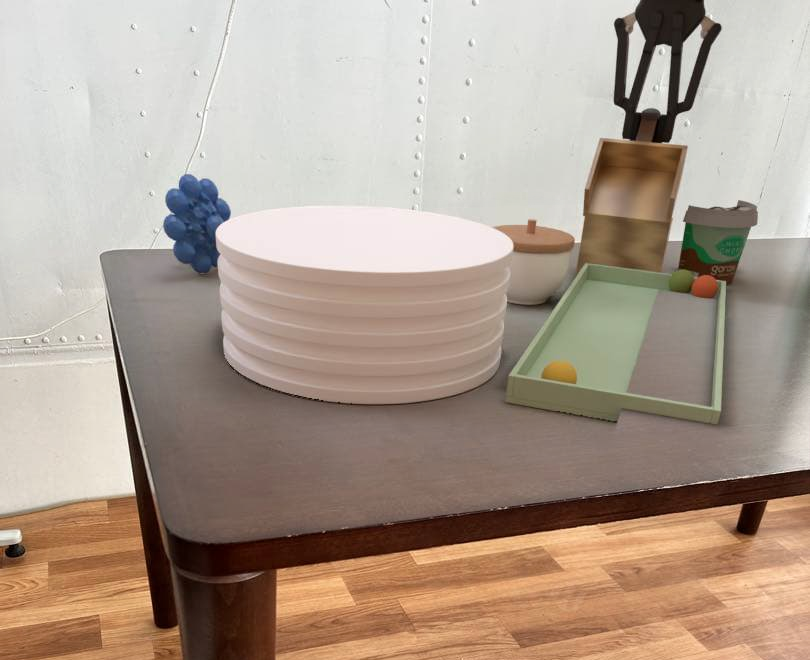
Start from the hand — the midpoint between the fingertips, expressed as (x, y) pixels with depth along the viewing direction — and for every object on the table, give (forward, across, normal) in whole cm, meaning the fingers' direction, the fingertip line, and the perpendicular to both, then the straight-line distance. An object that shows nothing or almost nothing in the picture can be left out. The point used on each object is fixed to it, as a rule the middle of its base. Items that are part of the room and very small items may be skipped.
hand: (640, 167), depth 111 cm
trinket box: (+14, -10, -22) cm, 28 cm away
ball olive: (+11, +9, -12) cm, 19 cm away
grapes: (+14, -49, -32) cm, 60 cm away
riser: (+14, 0, -4) cm, 14 cm away
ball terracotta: (+11, +12, -14) cm, 21 cm away
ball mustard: (+11, 0, -54) cm, 55 cm away
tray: (+14, +5, -33) cm, 36 cm away
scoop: (+1, 0, -3) cm, 3 cm away
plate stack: (+14, -20, -50) cm, 55 cm away
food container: (+14, +13, 0) cm, 19 cm away
